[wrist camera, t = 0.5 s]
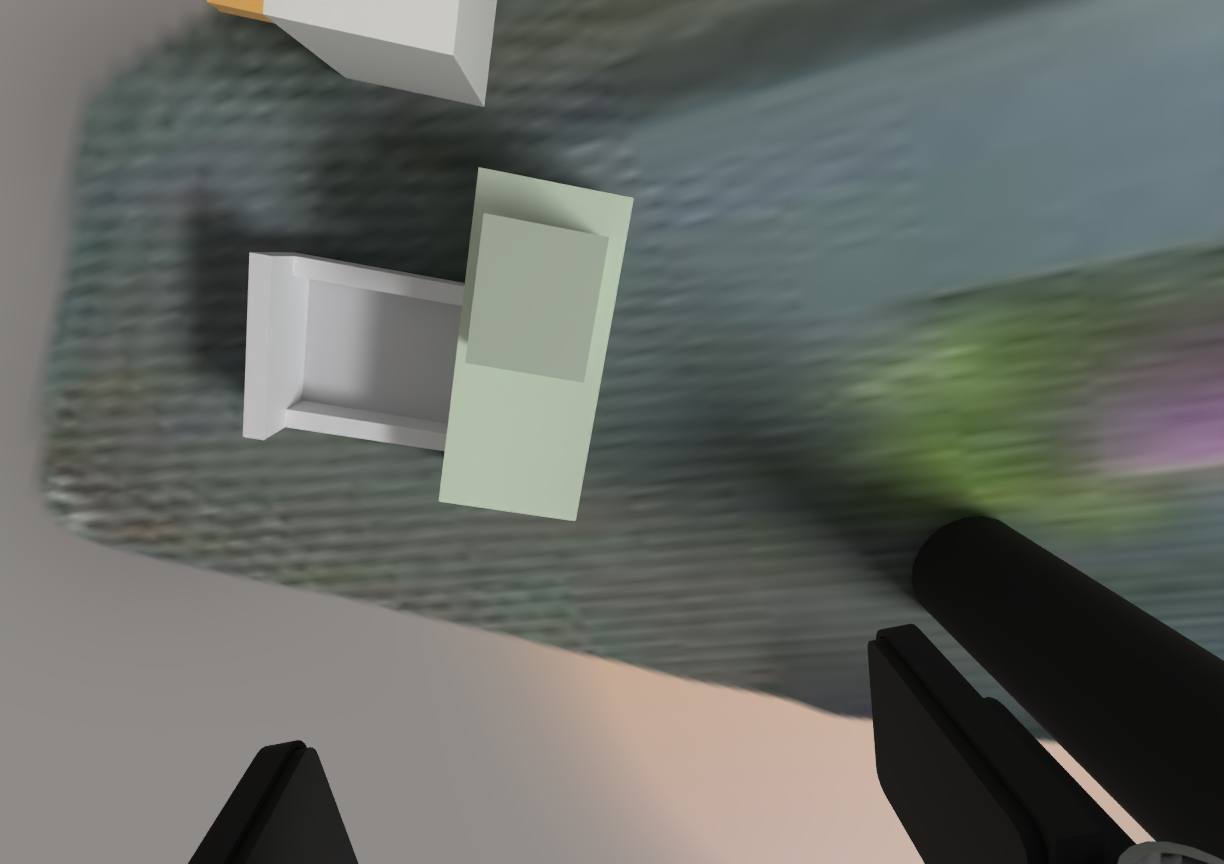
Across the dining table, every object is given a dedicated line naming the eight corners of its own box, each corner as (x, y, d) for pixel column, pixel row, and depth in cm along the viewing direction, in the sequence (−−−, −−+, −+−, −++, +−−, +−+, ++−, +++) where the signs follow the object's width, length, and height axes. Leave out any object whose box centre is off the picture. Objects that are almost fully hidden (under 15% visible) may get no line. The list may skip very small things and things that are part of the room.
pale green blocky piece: (300, 143, 33) (189, 98, 23) (623, 207, 35) (643, 189, 25) (284, 437, 37) (184, 502, 28) (575, 481, 39) (576, 556, 29)
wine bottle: (950, 499, 41) (1865, 1093, 12) (1046, 540, 42) (2085, 1171, 13) (890, 598, 42) (1566, 1328, 14) (984, 635, 44) (1785, 1377, 15)
